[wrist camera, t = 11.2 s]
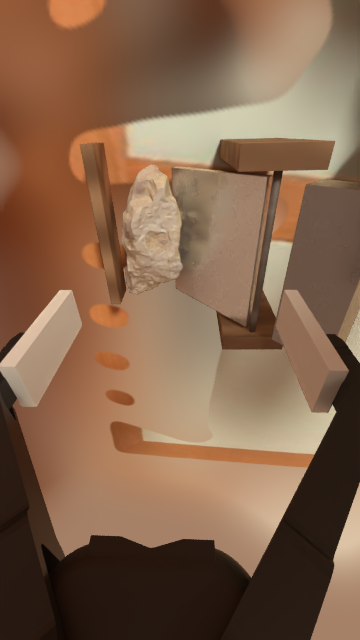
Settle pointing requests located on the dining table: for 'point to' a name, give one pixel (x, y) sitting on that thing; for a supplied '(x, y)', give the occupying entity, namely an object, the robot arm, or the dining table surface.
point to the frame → (265, 158)
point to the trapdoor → (247, 238)
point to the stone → (151, 232)
